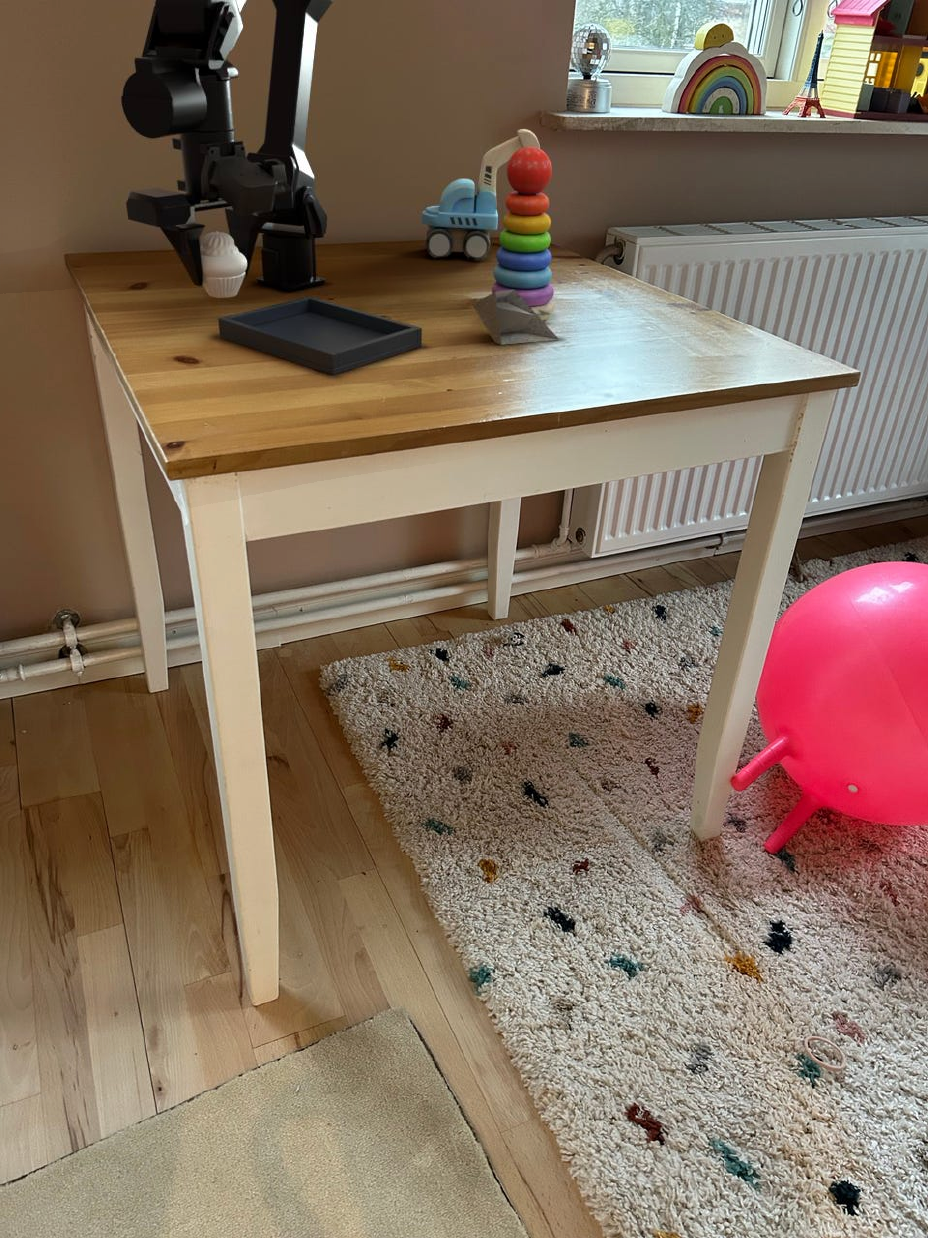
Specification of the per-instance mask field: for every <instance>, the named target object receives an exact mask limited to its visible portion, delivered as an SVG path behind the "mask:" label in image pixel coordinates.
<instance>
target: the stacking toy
mask: <svg viewBox="0 0 928 1238" xmlns="http://www.w3.org/2000/svg"><path fill="white" fill-rule="evenodd" d="M552 171H553V169H552V162H551V160H550V158H549V156H548V154H547V153H546V152H545V151H544V150H542V149H541V148H540V149H539V148H536V147H524V148H521V149H519V150H517V151H516V152H515V153H514V154H513V155H512V156H511V158H510V160H509V161H507V167H506V176H507V180H508V183H509V185H510V187H511V189H513V191H511V192H510V193H508V194H507V196H506V198H505V207H506V209H507V210H508V212H506V214H504V217H503V220H502V223H503V226H504V228H505V229H503V230H502V231H501V232H500V234H499V243H500V247H499V248H498V250H497V251H496V255H495V256H496V257H495V258H496V261H497V263H498V264H496V265H495V266H494V268H493V278H494V280H495V282H493V284H492V286H491V294H492V293H494V292H498V291H507V290H515V291H516V292H517V293H518V294H519V295H520V296H521V297H522V299H523V300H524V301H525V302H526V303H527V304H528V305H529V306H530V307H531V309H532V310H533V311H534V312H535V313H536V314H541V313H540V312H539V311H538V309H540V310H543V311H545V312H548V313H551V314H550V315H538V316H539V318H540V319H541V320H542V321H543V322H544V321H546V320H548V319H550V318H551V316H553V313H554V310H555V309H554V308H555V307H554V304H553V302H552V299H553V298H554V294H555V290H554V287H553V285H552V284H551V283H550V281H551V280H552V277H553V275H552V274H553V273H552V270H551V268H550V267H549V265H550V264H551V262H552V254H551V253H552V252H551V251H550V250H549V249H548V248H549V247H550V245H551V241H552V239H551V235H550V233H549V232H548V231H549V229H550V227H551V223H552V220H551V217H550V216H549V214H547V213H545V212H546V211H548V210H549V206H550V199H549V197H548V196H547V195H546V194H545V193H542V192H543V191H544V190H545V189H546V188H547V186H548V185H549V182H550V181H551V178H552V173H553V172H552Z"/></svg>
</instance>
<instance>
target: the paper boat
mask: <svg viewBox="0 0 928 1238" xmlns="http://www.w3.org/2000/svg"><path fill="white" fill-rule="evenodd" d="M471 305H472V307H473V308H474V310H475V312H476V313H477V315H478V317H479V318H480V320H481V321H482V323H483V325H484V326H485V329H486V330H487V331H488V334H489V335H490V337H491V338H492V340H493V342H494V343H495V344H498V345H501V346H503V345H513V344H525V343H537V342H545V341H546V342H548V341H559V340H560V339H559V338H558V336H557V335H556V334H555V333H554V332H553V330H551V329H550V327H549V326H548V325H547V324H546V323H545V322H544V320H543V321H542V320H541V319H540V318H539V316H538V315H550V314H551V313H548V312H545V311H543V310H540V309H538V311H539V312H540V313H541V314H536V313H535V312H534V311H533V310H532V309H531V307H530V306H529V305H528V304H527V303H526V302H525V301H524V300H523V299H522V297H521V296H520V295H519V294H518V293H517V292H516V291H515V290H507V291H498V292H494V293H492V292H491V294H489V295H486V296H485V297H483V298H481V299H479V300H477V301H475V302H473V303H472V304H471Z"/></svg>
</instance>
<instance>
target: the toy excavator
mask: <svg viewBox="0 0 928 1238" xmlns="http://www.w3.org/2000/svg"><path fill="white" fill-rule="evenodd" d="M524 147H536V148H539V149H541V145H540V141H539V140H538V137H537V136H536V134H535V133H534V132H532V131H531V130H529V129H526V128H522V129H518V130H517V136H515V137H512V138H510V139H508V140H506V141H504V142H502V143H500V144H498V145H496V146H494V147H492V148H490V149H489V150H488V151H487V152H486V153H485V154H484V155H483V158H482V161H481V166H480V170H479V178H478V185H477V193H476V185H475V182H474V181H473V180H472V179H470V178H457V179H455V180H453V181H452V182H450V183H449V184H448V185H447V186H446V187H445V189H443V191H442V193H441V195H440V198H439V205H432V206H428V207H426V208H425V210H423V211H422V213H421V214H422V215H421V223H423V225H426V226H427V231H426V238H425V247H426V251H427V252H428V254H429V255H430V256H431V257H432V258H434V259H438V258H439V259H440V258H447V257H449V255H451V253H452V252H455V253H456V252H457V253H463V254H464V255H465V256H466V258H467V259H472V260H473V261H474V262H479V261H483V260H484V259H485V258H487V256H488V255H489V253H490V250H491V241H490V231H496V230H498V221H499V215H498V210H497V205H498V204H497V202H498V201H497V200H498V199H497V172H498V170H499V168H500V167H502V166H503V165H504V164H506V163H508V162H509V160H510V158H511V156H512V155H513V154H514V153H515V152H516V151H517V150H519V149H521V148H524Z"/></svg>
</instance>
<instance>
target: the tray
mask: <svg viewBox="0 0 928 1238" xmlns="http://www.w3.org/2000/svg"><path fill="white" fill-rule="evenodd" d="M217 322H218V331H219V332H218V333H219V338H221V339H223V340H226V341H229V342H232V343H236V344H239V345H242V346H245V347H248V348H250V349H254V350H257V351H259V352H262V353H265V354H267V355H268V354H269V355H272V356H274V357H277V358H281V359H283V360H286V361H290V362H292V363H296V364H297V365H298V364H299V365H302V366H305V367H308V368H309V369H310V368H311V369H314V370H317V371H320V372H323V373H325V374H329V375H331V376H335V375H338V374H339V375H340V374H342V373H344V372H347V371H351V370H354V369H357V368H360V367H363V366H366V365H369V364H372V363H376V362H379V361H382V360H385V359H388V358H391V357H394V356H398V355H400V354H403V353H406V352H409V351H412V350H416V349H418V348H422V346H423V343H422V342H423V328H422V327H421V326H416V325H413V324H410V323H407V322H403V321H399V320H395V319H392V318H388V317H385V316H381V315H378V314H374V313H370V312H367V311H363V310H360V309H356V308H352V307H349V306H345V305H342V304H339V303H335V302H331V301H328V300H324V299H320V298H316V297H313V296H306V297H302V298H298V299H297V298H296V299H293V300H289V301H284V302H280V303H277V304H272V305H268V306H264V307H259V308H255V309H251V310H247V311H243V312H239V313H235V314H230V315H226V316H222V317H219V318H217Z"/></svg>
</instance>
